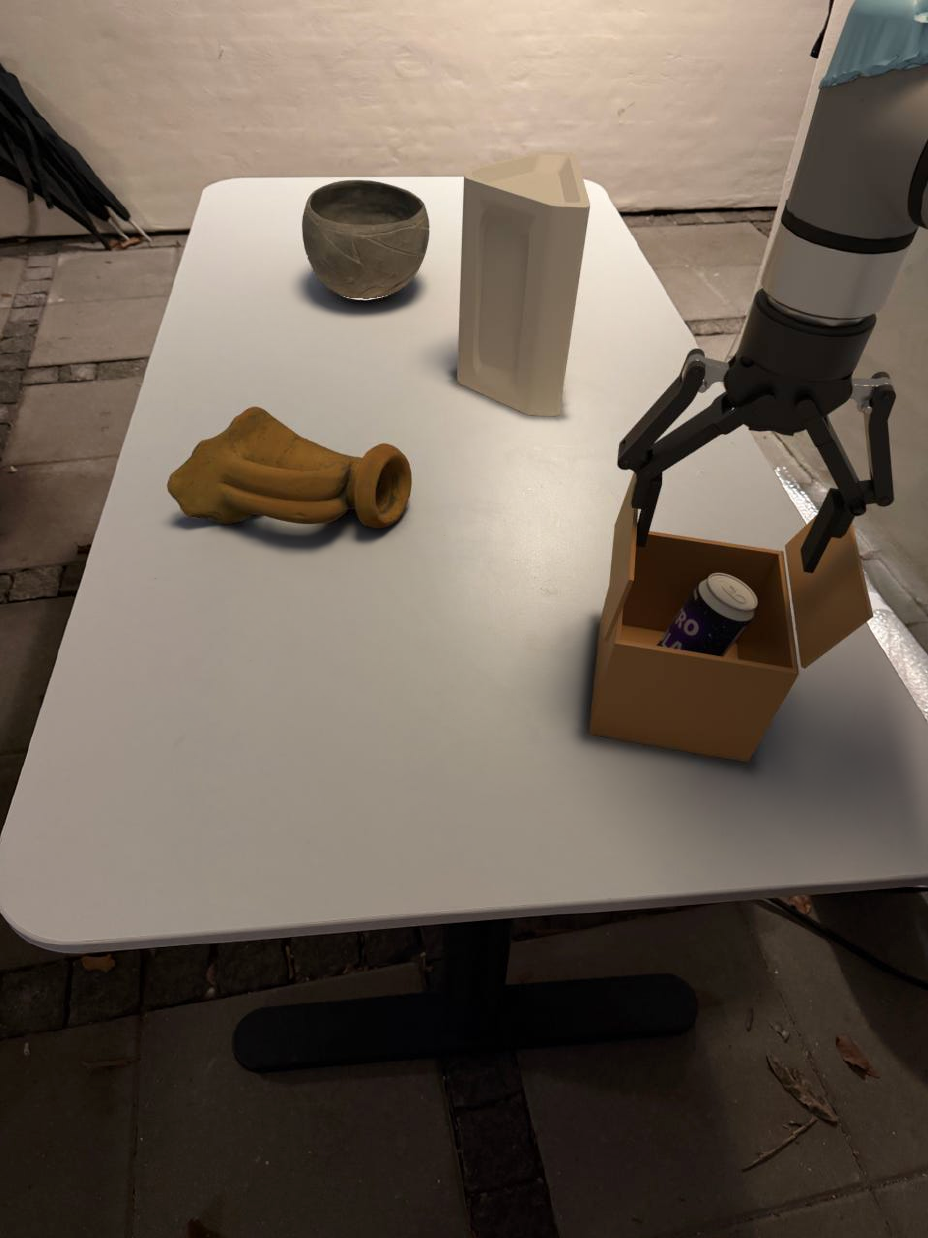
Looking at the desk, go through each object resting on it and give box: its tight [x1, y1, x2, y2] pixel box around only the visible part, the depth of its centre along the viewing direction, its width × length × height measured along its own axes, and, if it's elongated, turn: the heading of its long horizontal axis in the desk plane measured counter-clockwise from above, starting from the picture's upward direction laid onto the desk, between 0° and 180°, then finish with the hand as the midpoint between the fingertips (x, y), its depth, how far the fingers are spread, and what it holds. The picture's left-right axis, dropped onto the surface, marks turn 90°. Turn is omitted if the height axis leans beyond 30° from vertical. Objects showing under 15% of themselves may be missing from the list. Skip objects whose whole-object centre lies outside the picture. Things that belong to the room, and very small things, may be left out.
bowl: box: [301, 179, 431, 299], centre depth 129 cm, size 21×21×15 cm
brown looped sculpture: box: [166, 406, 413, 529], centre depth 90 cm, size 18×13×22 cm
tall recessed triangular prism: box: [456, 151, 591, 417], centre depth 106 cm, size 19×15×28 cm
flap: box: [784, 514, 875, 670], centre depth 65 cm, size 7×15×1 cm
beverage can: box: [657, 573, 757, 657], centre depth 74 cm, size 6×6×12 cm
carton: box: [588, 472, 800, 763], centre depth 71 cm, size 16×15×21 cm
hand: (722, 549), depth 64 cm, fingers open, 13 cm apart
